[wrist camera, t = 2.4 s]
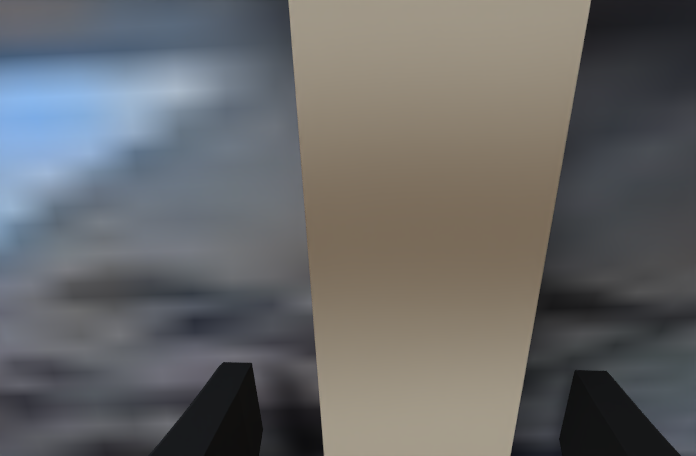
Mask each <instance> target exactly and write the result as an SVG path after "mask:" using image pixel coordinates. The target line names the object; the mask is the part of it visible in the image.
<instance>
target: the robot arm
mask: <svg viewBox="0 0 696 456" xmlns="http://www.w3.org/2000/svg"><path fill="white" fill-rule="evenodd" d="M262 432H263V427H262V421H261V415H260V409H259V403H258V397H257V391H256V385H255V379H254V373H253V367H252V363H232V362H223V363H222V364H221V365H220V366H219V367H218V368H217V370H216V371H215V372H214V374H213V375H212V377H211V378H210V379H209V381H208V382H207V383H206V385H205V386H204V387H203V389H202V390H201V391H200V393H199V394H198V395H197V397H196V398H195V399H194V401H193V402H192V403H191V404H190V406H189V407H188V408H187V410H186V411H185V412H184V414H183V415H182V416H181V417H180V418H179V420H178V421H177V422H176V423H175V425H174V426H173V427H172V428H171V429H170V431H169V432H168V433H167V434H166V436H165V437H164V438H163V439H162V440H161V442H160V443H159V444H158V445H157V446H156V448H155V449H154V450H153V451H152V452H151V453H150V454H149V456H259V451H260V445H261V439H262ZM559 440H560V445H561V450H562V456H681V455H680V454H679V453H678V452H677V451H676V450H675V449H674V448H673V447H672V445H671V444H670V443H669V442H668V441H667V440H666V439H665V438H664V437H663V435H662V434H661V433H660V432H659V431H658V430H657V429H656V428H655V426H654V425H653V424H652V423H651V422H650V421H649V420H648V418H647V417H646V416H645V415H644V414H643V413H642V412H641V410H640V409H639V408H638V407H637V406H636V405H635V403H634V402H633V401H632V400H631V399H630V398H629V396H628V395H627V394H626V393H625V392H624V391H623V389H622V388H621V387H620V386H619V385H618V383H617V382H616V381H615V380H614V379H613V378H612V377H611V375H610V374H609V373H608V372H607V371H583V370H575V372H574V376H573V381H572V385H571V389H570V394H569V398H568V403H567V407H566V412H565V416H564V420H563V425H562V429H561V434H560V438H559Z"/></svg>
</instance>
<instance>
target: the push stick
mask: <svg viewBox="0 0 696 456" xmlns="http://www.w3.org/2000/svg"><path fill="white" fill-rule="evenodd" d="M288 1H289V14H290V26H291V39H292V52H293V65H294V77H295V90H296V103H297V116H298V128H299V141H300V154H301V167H302V180H303V192H304V205H305V218H306V231H307V243H308V256H309V269H310V282H311V294H312V307H313V320H314V333H315V345H316V358H317V371H318V384H319V397H320V409H321V422H322V435H323V448H324V456H510V455H511V449H512V444H513V438H514V432H515V427H516V421H517V415H518V410H519V404H520V399H521V393H522V387H523V382H524V376H525V370H526V365H527V359H528V353H529V348H530V342H531V336H532V331H533V325H534V319H535V314H536V308H537V303H538V297H539V291H540V286H541V280H542V274H543V269H544V263H545V257H546V252H547V246H548V240H549V235H550V229H551V223H552V218H553V212H554V207H555V201H556V195H557V190H558V184H559V178H560V173H561V167H562V161H563V156H564V150H565V144H566V139H567V133H568V127H569V122H570V116H571V111H572V105H573V99H574V94H575V88H576V82H577V77H578V71H579V65H580V60H581V54H582V48H583V43H584V37H585V31H586V26H587V20H588V15H589V9H590V3H591V0H288Z"/></svg>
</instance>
